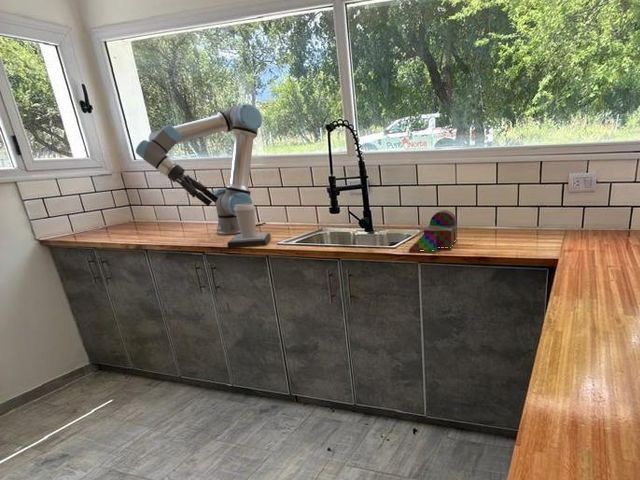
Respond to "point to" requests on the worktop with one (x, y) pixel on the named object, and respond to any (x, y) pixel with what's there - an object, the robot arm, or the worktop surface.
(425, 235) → the block
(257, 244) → the kitchen scale
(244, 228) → the coffee cup
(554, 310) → the worktop surface
